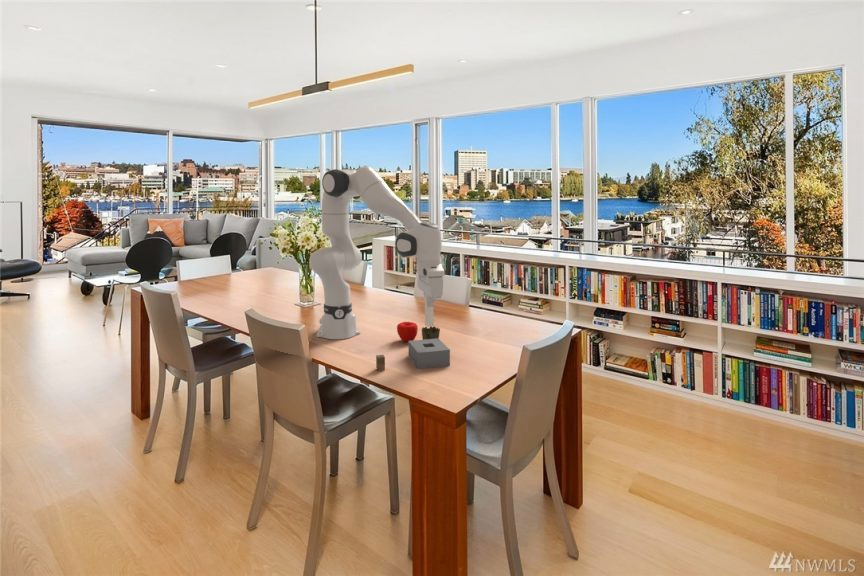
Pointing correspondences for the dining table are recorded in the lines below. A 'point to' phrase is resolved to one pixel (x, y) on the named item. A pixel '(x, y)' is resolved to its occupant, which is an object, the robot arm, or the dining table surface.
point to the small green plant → (430, 333)
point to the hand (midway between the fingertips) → (429, 305)
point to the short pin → (380, 362)
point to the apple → (407, 331)
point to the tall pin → (428, 313)
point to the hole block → (429, 353)
